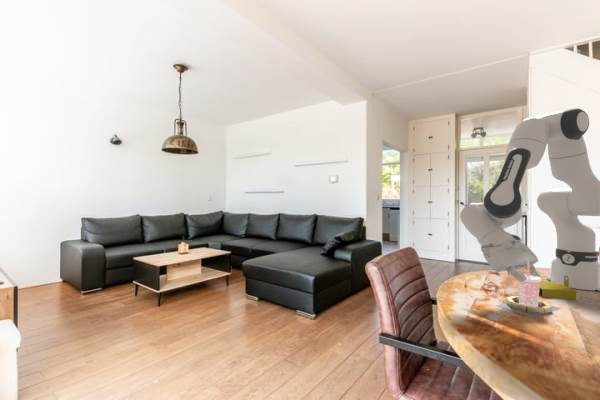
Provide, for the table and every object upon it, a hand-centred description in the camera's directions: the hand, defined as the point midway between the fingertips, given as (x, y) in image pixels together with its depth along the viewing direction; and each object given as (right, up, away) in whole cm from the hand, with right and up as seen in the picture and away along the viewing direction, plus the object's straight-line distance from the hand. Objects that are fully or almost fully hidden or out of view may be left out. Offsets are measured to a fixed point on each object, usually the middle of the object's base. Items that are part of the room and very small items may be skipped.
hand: (530, 279), depth 88 cm
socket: (0, -9, +1) cm, 9 cm away
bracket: (+16, -10, +15) cm, 24 cm away
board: (0, -10, +1) cm, 10 cm away
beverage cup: (0, -8, +1) cm, 9 cm away
